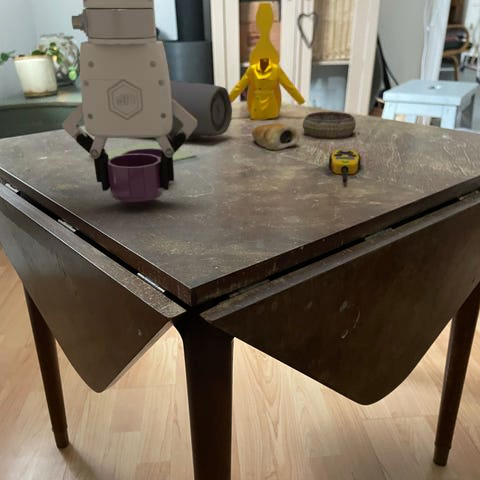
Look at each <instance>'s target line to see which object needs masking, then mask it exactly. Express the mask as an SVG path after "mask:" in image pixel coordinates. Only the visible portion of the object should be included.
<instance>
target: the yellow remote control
mask: <svg viewBox="0 0 480 480" xmlns="http://www.w3.org/2000/svg"><path fill="white" fill-rule="evenodd" d="M361 162H362V158H361V155H360V153H358V152H357V151H356V150H353V149H337V150H334V151H333V152H331V153H330V154H329V157H328V168H329V170H331V171H332V172H333V173H335V174H336V175H342V183H347V181H348V175H354V174H356V173H357V172H358V171H359V170H360V168H361Z"/></svg>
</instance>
